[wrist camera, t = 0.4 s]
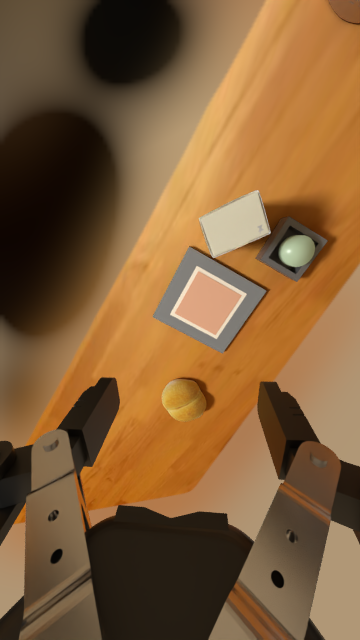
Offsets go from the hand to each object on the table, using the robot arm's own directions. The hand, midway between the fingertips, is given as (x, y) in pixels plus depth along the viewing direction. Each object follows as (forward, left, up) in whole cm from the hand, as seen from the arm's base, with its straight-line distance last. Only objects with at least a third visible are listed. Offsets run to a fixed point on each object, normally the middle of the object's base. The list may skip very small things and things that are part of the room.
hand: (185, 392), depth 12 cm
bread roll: (+20, +9, -26) cm, 34 cm away
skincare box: (-10, -1, -26) cm, 28 cm away
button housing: (-12, +9, -26) cm, 30 cm away
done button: (-12, +9, -23) cm, 28 cm away
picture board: (+1, +3, -26) cm, 26 cm away
